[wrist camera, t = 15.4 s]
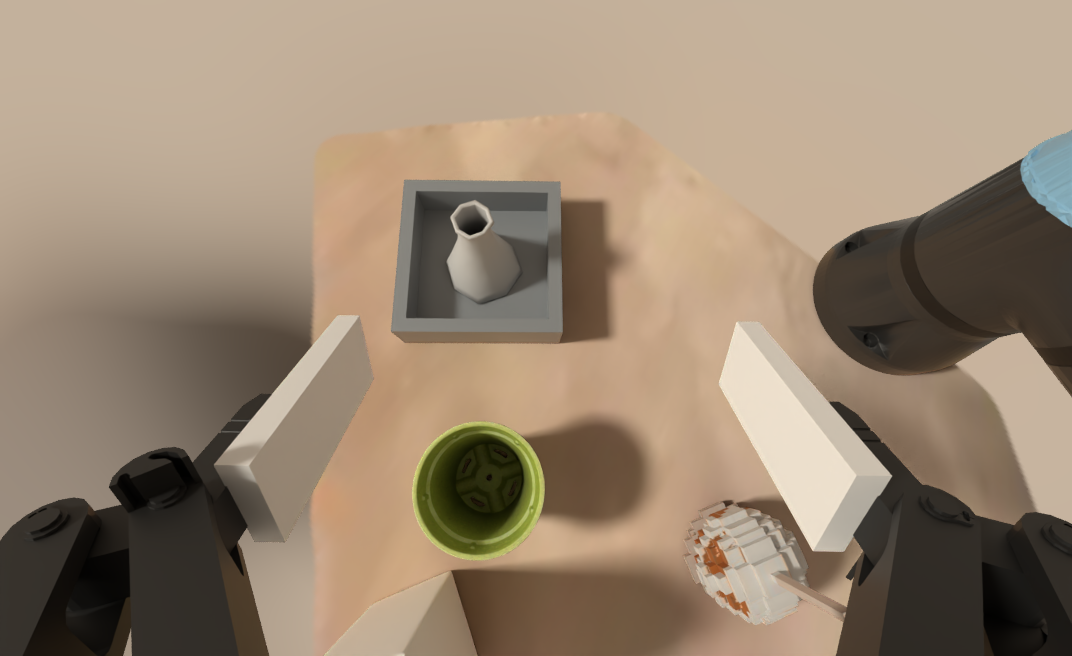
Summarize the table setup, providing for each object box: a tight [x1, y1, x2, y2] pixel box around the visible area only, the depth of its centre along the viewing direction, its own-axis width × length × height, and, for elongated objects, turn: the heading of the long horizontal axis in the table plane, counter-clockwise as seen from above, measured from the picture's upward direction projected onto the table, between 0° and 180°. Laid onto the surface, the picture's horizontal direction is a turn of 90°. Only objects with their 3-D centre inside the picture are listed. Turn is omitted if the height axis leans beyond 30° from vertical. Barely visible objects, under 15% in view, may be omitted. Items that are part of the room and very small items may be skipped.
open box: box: [391, 180, 563, 343], centre depth 42 cm, size 15×15×4 cm
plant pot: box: [412, 421, 545, 561], centre depth 35 cm, size 9×9×9 cm
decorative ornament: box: [683, 502, 847, 625], centre depth 31 cm, size 8×8×15 cm
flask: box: [446, 200, 522, 304], centre depth 38 cm, size 7×7×10 cm
